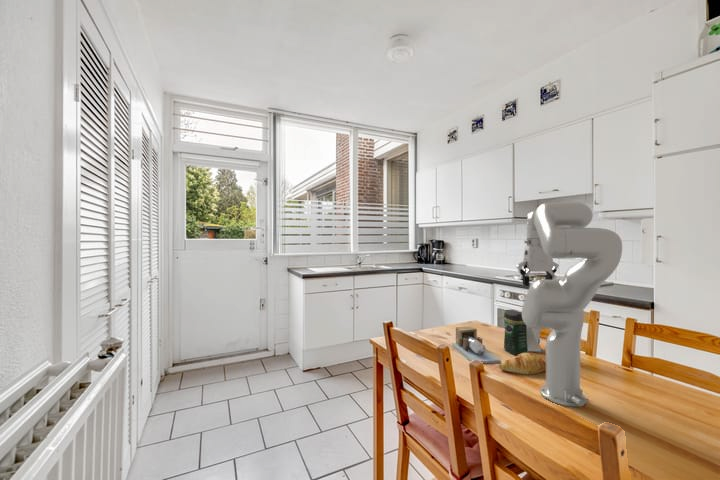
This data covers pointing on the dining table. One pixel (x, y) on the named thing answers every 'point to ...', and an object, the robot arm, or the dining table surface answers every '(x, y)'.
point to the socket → (465, 330)
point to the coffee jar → (515, 332)
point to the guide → (465, 343)
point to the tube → (474, 344)
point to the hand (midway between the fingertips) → (537, 285)
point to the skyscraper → (533, 337)
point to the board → (471, 355)
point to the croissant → (524, 364)
